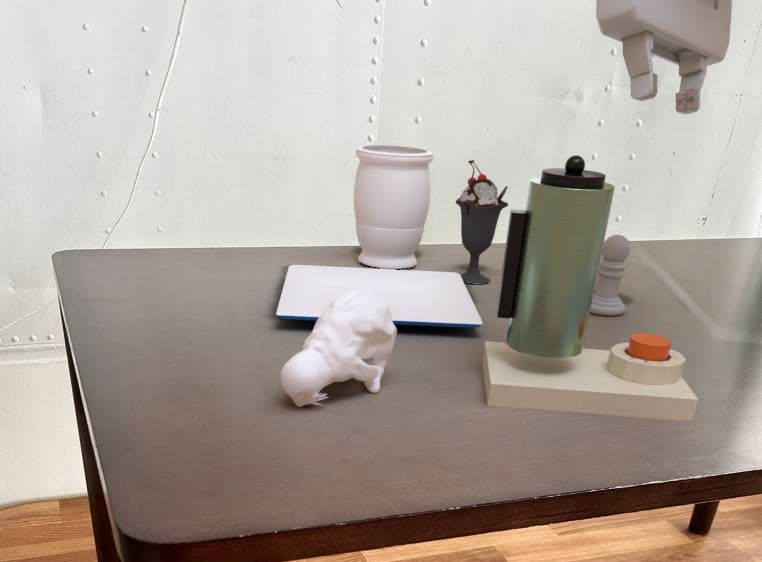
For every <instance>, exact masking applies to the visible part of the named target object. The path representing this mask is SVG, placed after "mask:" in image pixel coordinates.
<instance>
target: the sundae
mask: <svg viewBox="0 0 762 562" xmlns="http://www.w3.org/2000/svg"><path fill="white" fill-rule="evenodd" d="M468 164H470V165H471V168H472V175H471V177H470V178H468V180H467V185H468V186H466V187H464V189H463V190H462V192H461V194H460V197H459V198H457V199H456V200H455V204H456V205H458V207H459V208H460V217H461V219H460V221H461V222H460V234H461V244H462V246H463V247H464V249H465V250H466V251H467V252H468V253H469V255H470V258H469V264H468V268H467V270H466V271H465V272H463V273H462V274H460V273H459V274H460V275H461V278H462V280H463V281H464V282H469V283H470V282H471V283H485V282H488V281H490V282H491V279H490V278H489V277H487V276H484V275H483V274H482V273H481V272H480V268H479V262H480V256H481V255H482V254H483V253H484V252H485V251H487V250H488V249H489V248H490V247H491V246H492V244H493V240H494V237H495V233H496V229H497V226H498V225H497V224H498V221H499V217H500V215H501V212H502V210H503V209H505V208H507V207H508V206H509V203H508V202H506V201H504V200H503V198H504V196H505V194H506V192H507V190H508V186H507V185H506V186H504V188H503V189H502V190H501V192H500V193H499V192H498V186H497V185H496V184H495V183H494V182H493V181H492V180H491V179H488V178H487V175H486V174H484V173H482V172H481V171H480V169H479V168H478V166H477V165H476V163H475V160H474V159H472V160H468ZM474 166H475V167H474ZM475 168H476V170H477V171H478V174H479V175H478V176H477V178H476V177H474V176H475ZM498 193H499V195H498Z"/></svg>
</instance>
